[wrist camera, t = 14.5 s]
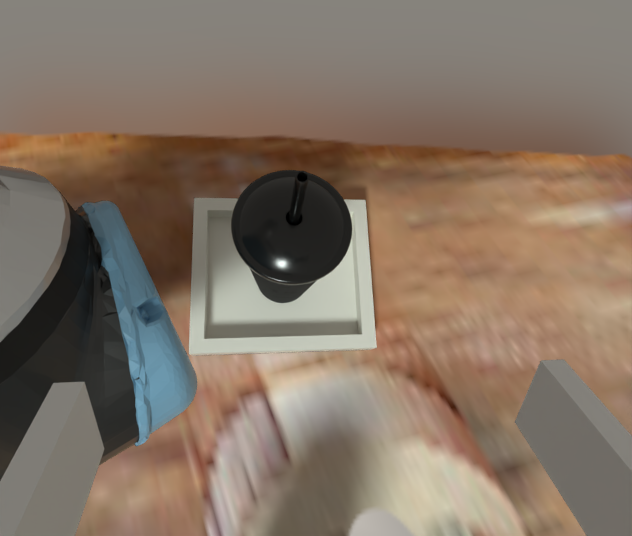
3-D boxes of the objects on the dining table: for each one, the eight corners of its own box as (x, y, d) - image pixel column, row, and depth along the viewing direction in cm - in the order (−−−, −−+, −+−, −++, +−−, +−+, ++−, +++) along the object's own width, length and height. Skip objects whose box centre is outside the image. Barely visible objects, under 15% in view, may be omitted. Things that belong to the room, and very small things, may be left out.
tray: (193, 355, 38) (188, 353, 36) (198, 208, 42) (194, 197, 39) (369, 349, 40) (376, 347, 38) (359, 209, 44) (365, 199, 41)
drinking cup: (236, 243, 40) (214, 113, 21) (316, 235, 42) (363, 104, 23) (245, 324, 39) (231, 260, 19) (328, 312, 40) (392, 242, 21)
